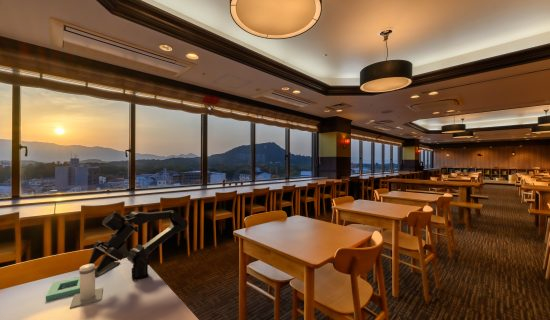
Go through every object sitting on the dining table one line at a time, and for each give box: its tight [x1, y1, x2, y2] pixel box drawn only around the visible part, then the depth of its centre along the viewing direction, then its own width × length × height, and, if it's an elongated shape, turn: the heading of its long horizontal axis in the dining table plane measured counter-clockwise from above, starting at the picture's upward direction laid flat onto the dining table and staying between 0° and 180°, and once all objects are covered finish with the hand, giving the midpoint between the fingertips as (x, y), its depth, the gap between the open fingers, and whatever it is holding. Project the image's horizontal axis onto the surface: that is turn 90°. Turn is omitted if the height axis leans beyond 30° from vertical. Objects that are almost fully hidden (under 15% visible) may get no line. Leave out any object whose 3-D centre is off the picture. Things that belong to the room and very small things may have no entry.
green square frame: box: [45, 276, 80, 302], centre depth 105 cm, size 12×12×2 cm
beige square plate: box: [69, 287, 104, 309], centre depth 99 cm, size 10×10×1 cm
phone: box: [95, 261, 121, 278], centre depth 124 cm, size 8×1×15 cm
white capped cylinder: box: [79, 263, 96, 300], centre depth 99 cm, size 5×5×13 cm
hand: (92, 268), depth 101 cm, fingers open, 9 cm apart
